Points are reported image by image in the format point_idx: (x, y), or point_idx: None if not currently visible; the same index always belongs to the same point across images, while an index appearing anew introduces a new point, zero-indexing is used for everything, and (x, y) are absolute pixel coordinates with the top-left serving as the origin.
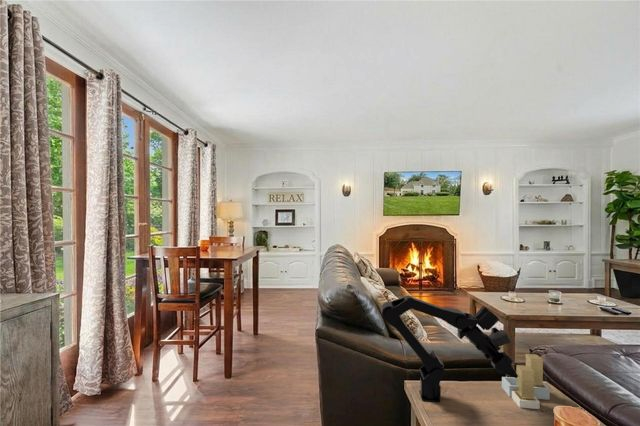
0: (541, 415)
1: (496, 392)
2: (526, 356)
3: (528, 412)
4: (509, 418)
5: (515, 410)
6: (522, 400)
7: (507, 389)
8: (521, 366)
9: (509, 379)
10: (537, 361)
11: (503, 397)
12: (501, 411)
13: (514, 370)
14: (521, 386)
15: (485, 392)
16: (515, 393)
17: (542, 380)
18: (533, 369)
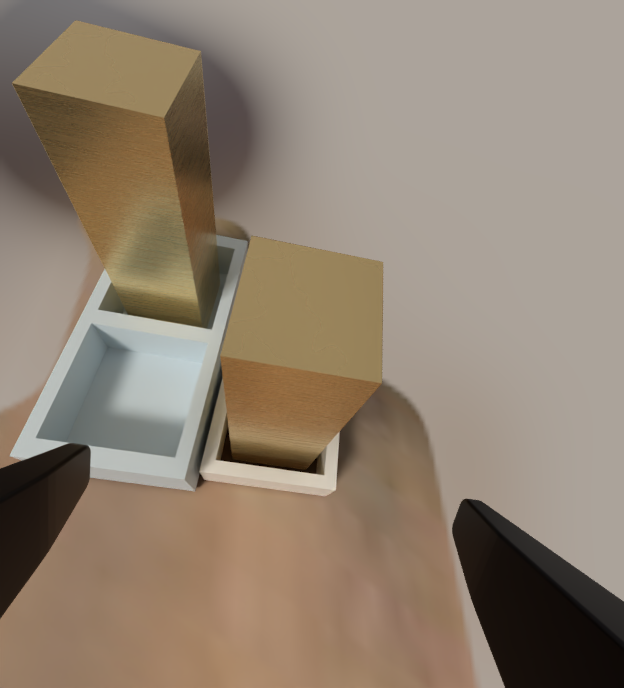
0: (385, 411)
1: (111, 563)
2: (50, 115)
3: (365, 467)
4: (450, 651)
5: (351, 543)
6: (335, 469)
7: (152, 481)
8: (268, 317)
9: (59, 402)
10: (189, 109)
11: (190, 541)
12: (373, 673)
13: (601, 587)
14: (329, 439)
15: (88, 683)
16: (243, 465)
17: (215, 229)
18: (189, 210)
